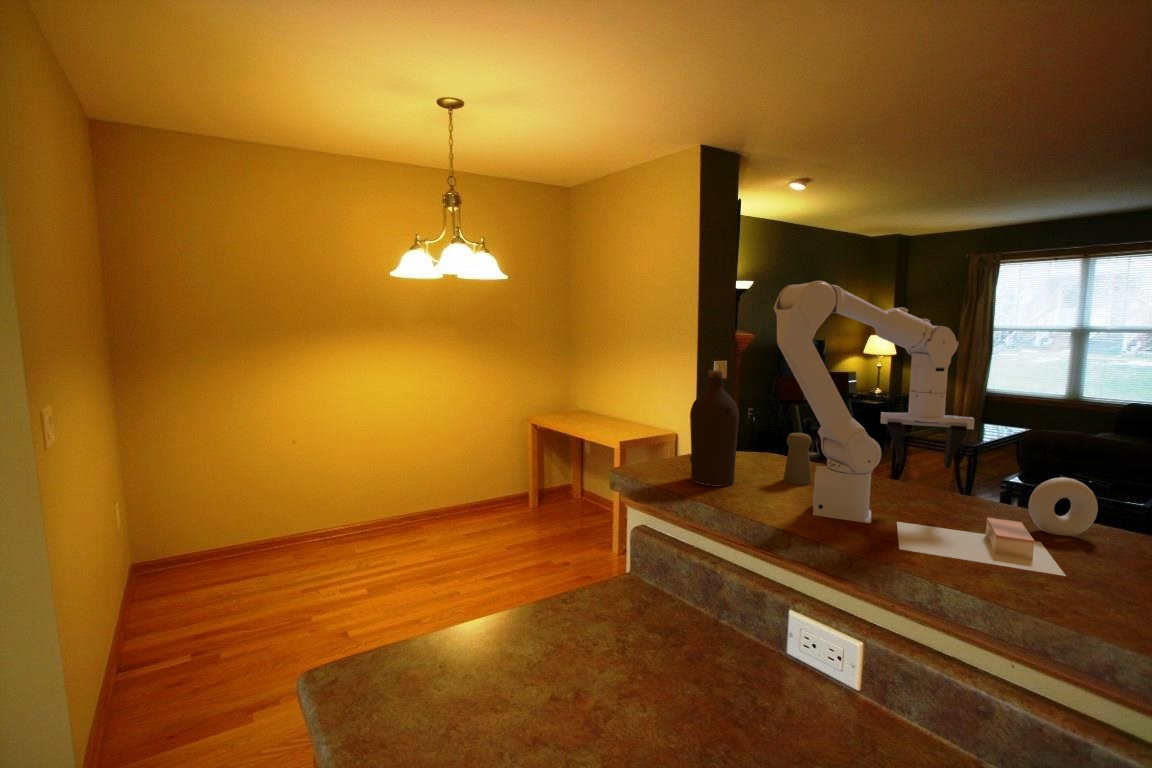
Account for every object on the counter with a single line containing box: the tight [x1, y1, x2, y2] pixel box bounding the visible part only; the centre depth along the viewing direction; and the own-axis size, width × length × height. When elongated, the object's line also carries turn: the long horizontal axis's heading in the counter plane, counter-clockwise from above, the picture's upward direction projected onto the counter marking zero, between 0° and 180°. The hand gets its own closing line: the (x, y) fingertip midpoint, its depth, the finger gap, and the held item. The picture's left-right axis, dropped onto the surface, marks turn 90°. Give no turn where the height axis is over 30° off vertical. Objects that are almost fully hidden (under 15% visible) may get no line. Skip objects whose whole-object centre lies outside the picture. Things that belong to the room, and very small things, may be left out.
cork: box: [782, 432, 813, 486], centre depth 127 cm, size 6×6×11 cm
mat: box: [896, 521, 1067, 577], centre depth 89 cm, size 20×14×1 cm
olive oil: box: [689, 370, 740, 485], centre depth 126 cm, size 11×11×25 cm
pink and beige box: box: [985, 517, 1035, 560], centre depth 88 cm, size 9×4×3 cm, turn 152°
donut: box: [1027, 476, 1099, 537], centre depth 94 cm, size 10×4×10 cm, turn 84°
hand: (922, 464), depth 105 cm, fingers open, 7 cm apart
